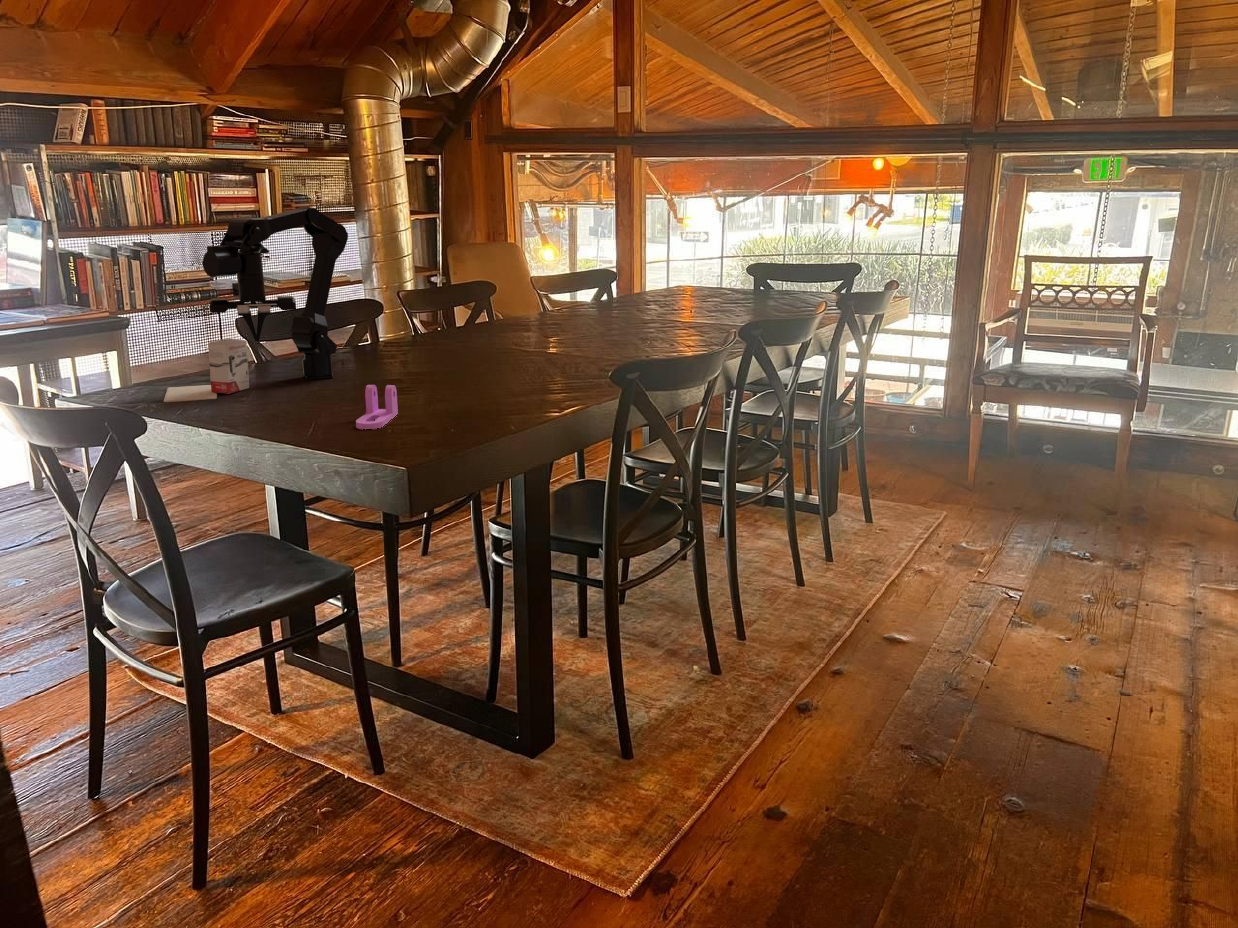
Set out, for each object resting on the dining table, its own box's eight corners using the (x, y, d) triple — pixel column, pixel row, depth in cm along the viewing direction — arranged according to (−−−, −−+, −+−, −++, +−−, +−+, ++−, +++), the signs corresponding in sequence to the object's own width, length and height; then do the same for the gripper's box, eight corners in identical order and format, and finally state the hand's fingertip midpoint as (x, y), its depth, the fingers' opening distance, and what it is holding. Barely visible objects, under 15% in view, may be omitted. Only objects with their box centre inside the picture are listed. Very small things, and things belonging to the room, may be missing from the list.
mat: (217, 385, 227) (217, 384, 227) (216, 398, 213) (216, 397, 212) (168, 388, 223) (168, 387, 223) (163, 402, 209) (163, 401, 209)
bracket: (372, 415, 199) (370, 383, 197) (398, 415, 199) (396, 383, 197) (352, 430, 186) (349, 396, 184) (379, 430, 186) (377, 396, 184)
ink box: (229, 394, 216) (225, 344, 213) (210, 392, 217) (206, 342, 214) (250, 388, 224) (247, 339, 221) (232, 386, 225) (229, 337, 222)
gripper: (290, 270, 226) (296, 334, 231) (207, 272, 220) (215, 338, 224) (293, 274, 216) (299, 341, 221) (206, 276, 210) (214, 345, 214)
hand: (257, 341), depth 220 cm, fingers closed
